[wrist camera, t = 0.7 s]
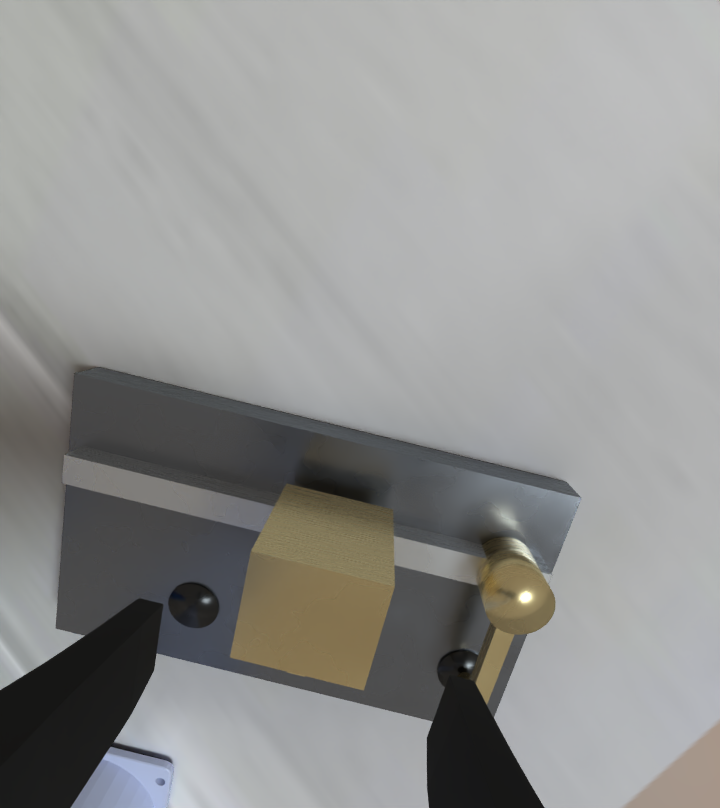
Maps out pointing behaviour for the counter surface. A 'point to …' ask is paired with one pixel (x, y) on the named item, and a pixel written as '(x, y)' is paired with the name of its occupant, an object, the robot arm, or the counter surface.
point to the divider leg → (318, 587)
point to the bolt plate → (249, 511)
